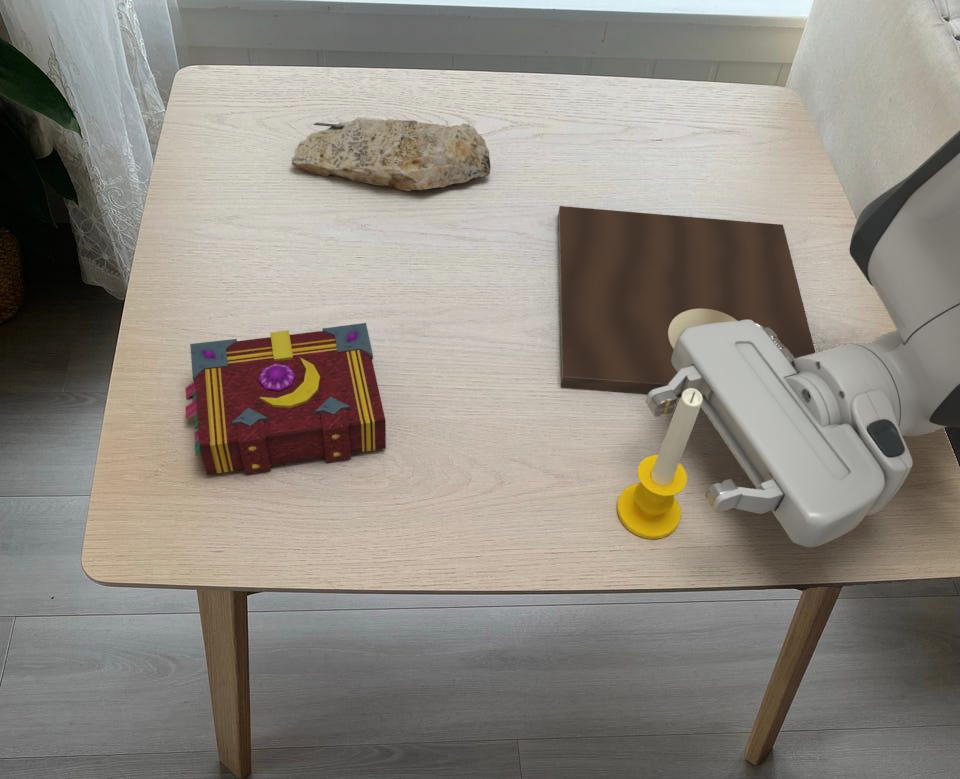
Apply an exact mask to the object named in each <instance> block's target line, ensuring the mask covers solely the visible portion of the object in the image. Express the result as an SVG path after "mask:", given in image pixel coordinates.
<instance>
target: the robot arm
mask: <svg viewBox="0 0 960 779" xmlns="http://www.w3.org/2000/svg"><path fill="white" fill-rule="evenodd" d="M848 250H849V255H850V257H851V258H852V260H853V261H854V262H855V264H856V265H857V267H858V269H859V270H860V271H861V273H862V275H863V276H864V277H865V279H866V281H867V282H868V283H869V284H870V285H871V286H872V287H873V289H874V291H875V293H876V295H877V296H878V298H879V299H880V301H881V303H882V305H883V306H884V309H885V311H886V312H887V314H888V316H889V318H890V319H891V321H892V323H893V324H894V326H895V328H896V330H893V331H890V332H886V333H883V334H882V335H879V336H878V337H877V338H875V339H874V340H872V341H870V342H867V343H865V342H852V343H851V342H850V343H847V344H842V345H838V346H836V347H831V348H828V349H823V350H821V351H817V352H815V353H813V354H809V355H806V356H802V357H798V358H796V359H795V358H794V357H793V355H792V354H791V353H790V352H789V350H788V349H787V348H786V347H785V346H784V345H783V344H782V343H781V342H780V341H779V340H778V337H777V335H776V334H775V333H774V331H772V330H771V329H770V328H769V327H765V328H764V327H763V326H761V325H760V324H758V323H755V322H753V321H752V320H741V321H729V322H719V323H711V324H705V325H699V326H694V327H690V328H687V329H685V330H684V331H683V332H682V333H681V334H680V336H679V338H678V340H677V342H676V345H675V347H674V351H673V354H672V358H671V363H672V365H673V367H674V368H675V370H676V371H677V372H678V373H677V374H676V376H675V377H674V378H673V379H672V380H671V381H670V382H669V384H668V385H667V386H664V387H660V388H657V389H653V390H651V391H650V392H649V393H648V394H647V396H646V399H645V403H646V405H647V406H648V408H649V410H650V411H651V413H652V415H653V417H655V418H658V417H661V416H662V415H668V414H672V413H674V411H675V405H676V404H677V401H678V396H677V395H678V394H679V393H680V392H681V394H682V393H683V392H684V391H685V390H686V389H689V388H693V389H696V390H698V391H699V392H700V393H701V395H702V403H701V406H700V409H702V411H703V412H704V414H705V415H706V417H707V418H708V419H709V421H710V423H711V424H712V426H713V427H714V428H715V430H716V432H717V433H718V434H719V436H720V437H721V439H722V440H723V442H724V443H725V445H726V446H727V448H728V450H730V452H731V454H732V455H733V456H734V458H735V459H736V461H737V462H738V464H739V465H740V467H741V468H742V470H743V471H744V473H745V474H746V476H747V477H748V479H749V480H750V481H751V483H752V484H753V486H754V487H755V488H752V487H751V488H750V487H744V486H743V487H742V486H737V485H736V484H735V482H734V481H733V479H732V478H729V479H724V480H723V481H722V482H715V483H713V484H712V485H710V486H709V487H708V489H707V493H705V497H706V500H707V502H708V503H710V505H711V507H712V509H713V510H714V512H715V513H716V514H717V513H718V514H719V513H721V512H725V511H728V510H732V509H736V510H740V511H745V512H749V513H754V514H760V515H763V514H766V513H769V512H771V513H772V514H773V515H774V517H775V518H776V520H777V521H778V523H779V524H780V525H781V527H782V529H783V530H784V532H785V533H786V534H787V536H788V538H789V539H790V540H791V541H792V543H793V544H796V545H799V546H803V547H806V548H815V547H819V546H822V545H825V544H827V543H829V542H832V541H834V540H836V539H838V538H840V537H842V536H844V535H845V534H847V533H849V532H851V531H853V530H855V529H856V528H857V527H858V526H859V525H860V524H861V522H862V521H863V520H864V518H865V517H866V516H872V515H875V514H878V513H879V512H881V511H882V510H883V509H884V508H885V507H886V506H887V505H888V504H889V502H891V500H892V499H894V497H895V495H896V494H897V493H898V492H899V490H900V489H901V487H902V486H903V484H904V482H905V481H906V479H907V477H908V475H909V473H910V472H911V469H912V467H913V464H914V462H913V458H912V455H911V453H910V450H909V448H908V446H907V443H906V442H905V439H904V437H920V436H924V435H928V434H931V433H933V432H937V431H940V430H943V429H946V428H948V427H949V428H958V429H960V129H959V130H958V131H957V132H956V133H955V134H954V135H952V137H950V138H949V139H948V140H947V141H945V143H944V144H943V145H941V146H940V147H939V148H938V149H937V150H936V151H935V152H934V153H933V154H932V155H930V156H929V157H928V158H927V159H926V160H925V161H924V162H922V164H920V165H919V166H918V167H917V168H916V169H915V170H914V171H913V172H912V173H911V174H909V175H908V176H907V177H905V178H904V179H902V180H901V181H900V182H898V183H897V184H895V185H893V186H892V187H890V188H889V189H887V190H886V191H885V192H883V193H882V194H880V195H879V196H878V197H876V198H875V199H874V200H872V201H871V202H869V204H868V205H866V206H865V207H864V208H863V209H862V211H861V212H860V213H859V215H858V218H857V220H856V223H855V225H854V228H853V231H852V235H851V239H850V244H849V249H848Z"/></svg>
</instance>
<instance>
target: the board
mask: <svg viewBox="0 0 960 779" xmlns="http://www.w3.org/2000/svg"><path fill="white" fill-rule="evenodd" d="M789 246H790V245H789V243H788V238H787V235H786V231H785V227H784V224H780V223H768V222H756V221H744V220H734V219H733V220H732V219H720V218H710V217H709V218H707V217H695V216H687V215H686V216H683V215H675V214H674V215H673V214H672V215H671V214H662V213H661V214H660V213H650V212H649V213H648V212H636V211H635V212H634V211H626V210H625V211H624V210H615V209H613V210H612V209H602V208H601V209H600V208H589V207H588V208H587V207H579V206H578V207H576V206H566V205H565V206H564V205H559V207H558V213H557V247H558V248H557V252H558V253H557V254H558V255H557V256H558V296H559V297H558V305H559V306H558V307H559V308H558V309H559V311H558V312H559V352H560V353H559V354H560V356H559V357H560V387H561V388H567V389H577V390H578V389H579V390H592V391H603V392H605V391H606V392H618V393H630V394H642V395H643V394H644V395H648V393H649V392H650V391H651V390H653V389H657V388H660V387H664V386H667V385H668V384H669V382H670V381H671V380H672V379H673V378H674V377H675V376H676V374H677V373H678V372H677V371H676V370H675V368H674V367H673V365H672V363H671V358H672V354H673V351H674V347H675V345H676V342H677V340H678V338H679V336H680V334H681V333H682V332H683V331H684V330H685V329H687V328H690V327H694V326H699V325H705V324H711V323H719V322H729V321H741V320H752V321H753V322H755V323H758V324H760V325H761V326H763V327H764V328H765V327H769V328H770V329H771V330H772V331H774V333H775V334H776V335H777V337H778V340H779V341H780V342H781V343H782V344H783V345H784V346H785V347H786V348H787V349H788V350H789V352H790V353H791V354H792V355H793V357H794V358H795V359H796V358H798V357H802V356H806V355H809V354H813V353H816V349H815V345H814V341H813V338H812V334H811V330H810V325H809V322H808V318H807V313H806V310H805V306H804V302H803V298H802V294H801V290H800V287H799V282H798V278H797V275H796V270H795V267H794V263H793V258H792V254H791V250H790V247H789ZM681 396H682V394H681V392H680V393H679V394H678V395H677V396H676V397H680V398H681Z"/></svg>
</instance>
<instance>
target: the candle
mask: <svg viewBox="0 0 960 779" xmlns="http://www.w3.org/2000/svg"><path fill="white" fill-rule="evenodd" d="M701 403H702V395H701V393H700V392H699V391H698V390H696V389H693V388H689V389H686V390H685V391H684V392H683V393H682V396H681V397H680V398H679V400H678V402H677V405H676V407H675V409H674V411H673V415H672V418H671V420H670V423H669V426H668V428H667V431H666V433H665V436H664V439H663V441H662V444H661V447H660V450H659V452H658V454H653V455H649V456H646V457H645V458H643V459H642V461H641V462H640V463H639V465H638V467H637V477H638V481H639V482H637V483H633V484H631V485H629V486H628V487H626V488H624V489H623V491H622V492H621V493H620V495H619V497H618V500H617V504H616V506H617V507H616V512H617V516H618V518H619V520H620V522H621V524H622V525H623V526H624V527H625V528H626V529H627V530H628V531H629V532H631V533H632V534H634V535H635V536H638V537H640V538H643V539H644V538H645V539H649V540H656V539H662V538H665V537H668V536H670V535H671V534H673V533H674V532H675V531H676V529H677V527H678V526H679V524H680V521H681V518H682V515H681V514H682V511H681V507H680V503H679V502H678V500H677V498H676V497H675V495H678V494H679V493H681V492H682V491H683V490H684V489H685V488H686V485H687V482H688V475H687V472H686V470H685V468H684V467H683V465H682V464H681V463H680V462H681V459H682V456H683V455H684V451H685V450H686V447H687V444H688V442H689V439H690V436H691V433H692V431H693V428H694V425H695V423H696V420H697V418H698V415H699V412H700V409H701Z"/></svg>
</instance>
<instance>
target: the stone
mask: <svg viewBox="0 0 960 779" xmlns="http://www.w3.org/2000/svg"><path fill="white" fill-rule="evenodd" d="M313 126H321V127H329V128H327V129H324V130H318V131H316V132H312V133H310V134H309V135H307V136H306V138H305V139H304V140H302V141H300V142H299V143H298V145H297V147H295V149H294V156H293V157H291V165H292V166H294V167H296V168H298V170H300V171H304V172H306V173H311V174H314V175H317V176H321V177H325V176H326V177H328V176H330V175H331V176H334V177H335V176H338V177H342V178H345V179H348V180H351V181H353V182H356V183H357V182H358V183H365V184H369V185H373V186H385V187H389V188H393V189H398V190H400V191H406V192H411V191H413V190H419V191H422V190H429V189H434V188H435V189H436V188H445V187H446V186H451V185H453V184H463V183H467V182H469V181H470V180H472V179H477V178H483V177H487V176H489V175H490V174H491V169H492V168H491V159H490V151H489V148H488V147H487V144H486V140H485V138H484V137H483V136H482V135H481V134H479V133H478V131H477V130H476V128H475V127H474V126H472V125H471V124H468V123H464V122H463V123H461V124H460V125H459V124H455V125H451V126H446V125H443V124H439V123H428V122H421V121H417V120H411V119H410V120H404V119H393V118H391V119H380V118H377V119H376V118H364V117H357V118H355V119H353V120H351V121H345V122H339V123H337V124H336V123H325V122H315V123H313Z"/></svg>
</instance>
